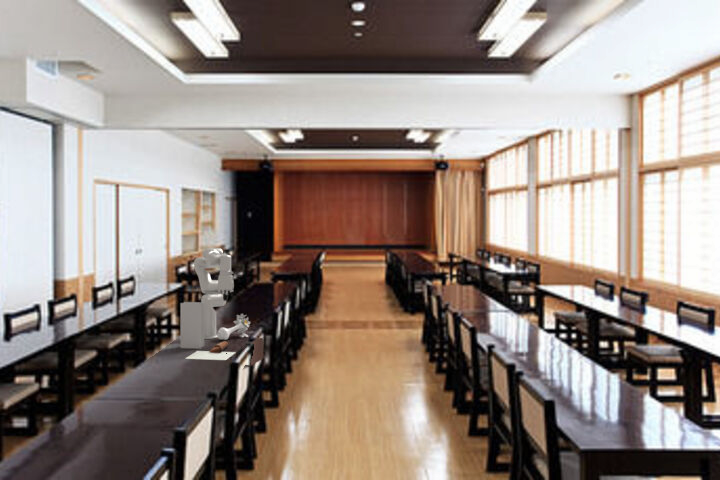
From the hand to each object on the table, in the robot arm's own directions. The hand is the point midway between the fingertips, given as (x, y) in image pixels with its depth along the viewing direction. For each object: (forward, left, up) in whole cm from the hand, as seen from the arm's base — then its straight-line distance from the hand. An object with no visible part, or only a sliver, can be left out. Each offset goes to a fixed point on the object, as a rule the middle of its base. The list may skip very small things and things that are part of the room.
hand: (225, 300), depth 377 cm
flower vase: (-24, -2, -31) cm, 40 cm away
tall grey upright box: (+7, -20, -31) cm, 38 cm away
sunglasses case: (+12, 0, -31) cm, 33 cm away
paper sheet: (+27, 0, -31) cm, 41 cm away
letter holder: (+38, +28, -32) cm, 57 cm away
